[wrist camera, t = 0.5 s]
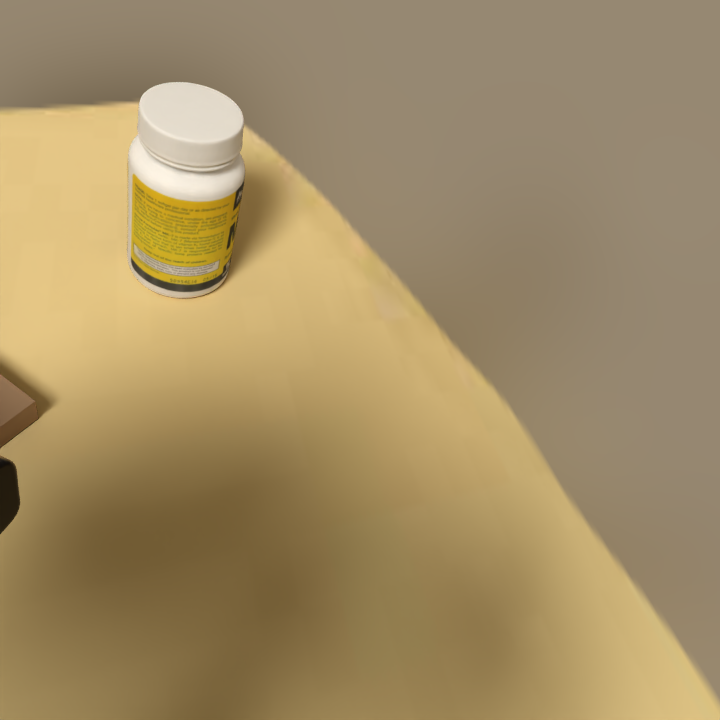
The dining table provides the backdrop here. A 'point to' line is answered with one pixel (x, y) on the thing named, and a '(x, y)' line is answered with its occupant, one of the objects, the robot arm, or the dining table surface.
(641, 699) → the dining table surface
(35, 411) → the keeper board
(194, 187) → the supplement bottle
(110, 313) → the dining table surface
